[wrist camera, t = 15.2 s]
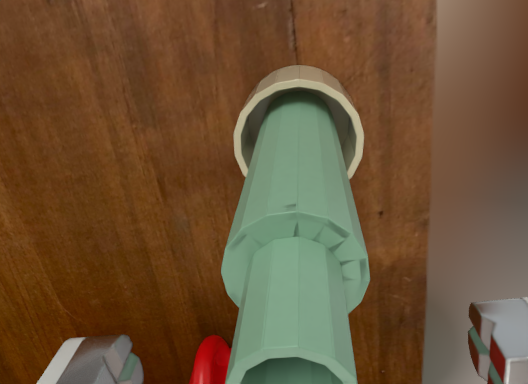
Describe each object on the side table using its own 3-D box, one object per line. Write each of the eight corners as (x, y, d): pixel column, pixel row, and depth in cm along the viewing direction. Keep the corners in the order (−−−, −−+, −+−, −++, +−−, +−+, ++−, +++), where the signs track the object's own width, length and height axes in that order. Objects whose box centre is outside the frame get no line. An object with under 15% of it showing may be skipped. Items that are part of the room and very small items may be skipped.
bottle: (257, 97, 25) (163, 326, 8) (328, 84, 24) (392, 306, 7) (270, 162, 27) (217, 461, 10) (337, 152, 26) (403, 455, 9)
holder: (232, 76, 25) (219, 93, 21) (348, 54, 24) (358, 68, 20) (255, 178, 28) (247, 209, 24) (359, 163, 27) (369, 193, 23)
